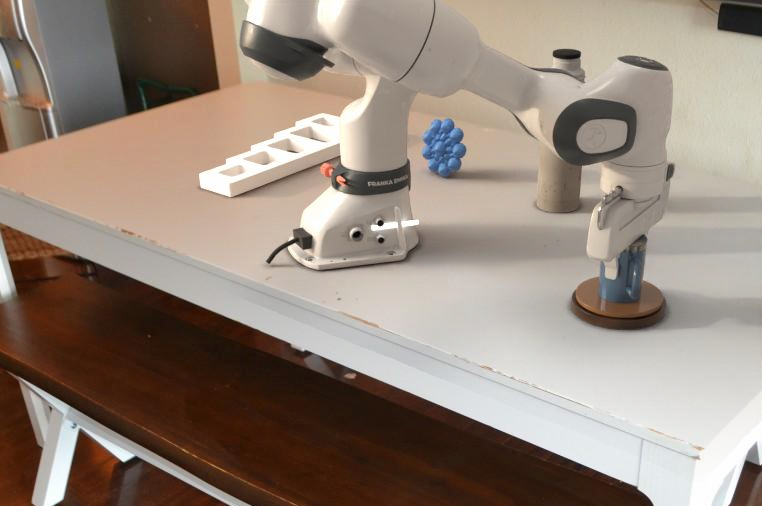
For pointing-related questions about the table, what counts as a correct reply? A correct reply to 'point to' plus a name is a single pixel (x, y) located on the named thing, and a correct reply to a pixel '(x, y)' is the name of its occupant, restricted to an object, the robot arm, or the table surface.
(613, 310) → the blue mug on coaster
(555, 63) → the thermos bottle
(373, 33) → the robot arm
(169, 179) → the table surface
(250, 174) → the holder
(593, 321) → the turntable base
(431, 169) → the grapes
